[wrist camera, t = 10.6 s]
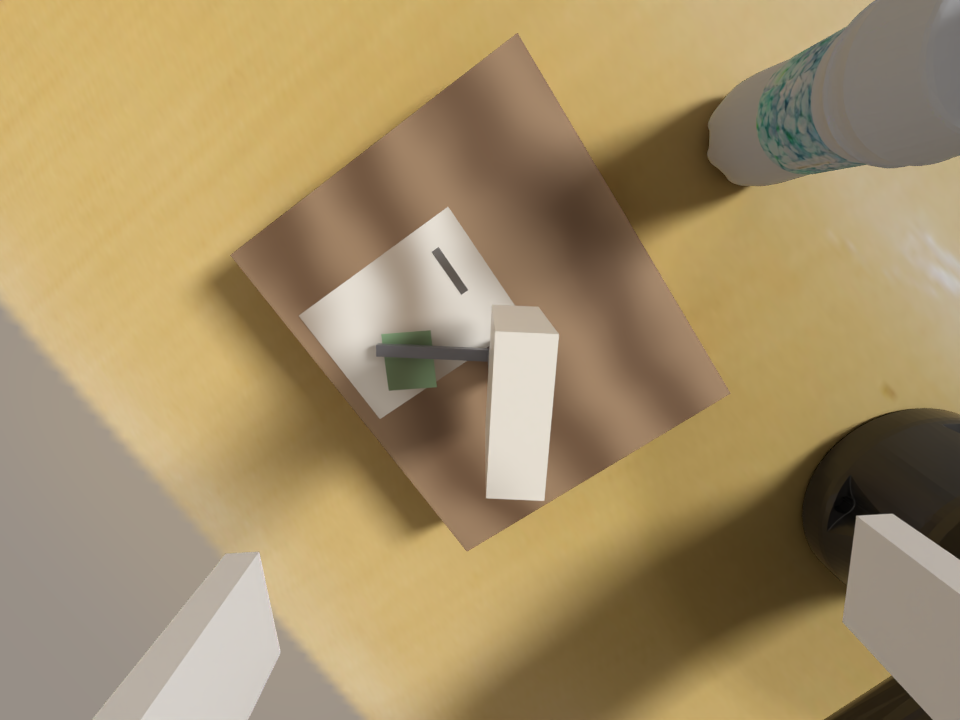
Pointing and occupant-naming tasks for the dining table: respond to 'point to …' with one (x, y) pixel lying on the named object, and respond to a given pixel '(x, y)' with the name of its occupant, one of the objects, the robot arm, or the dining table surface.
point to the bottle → (849, 100)
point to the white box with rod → (510, 396)
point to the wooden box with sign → (482, 291)
